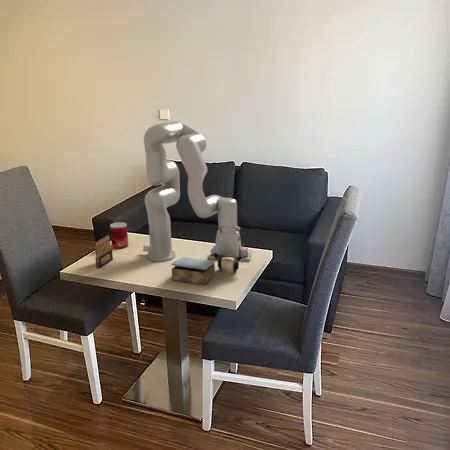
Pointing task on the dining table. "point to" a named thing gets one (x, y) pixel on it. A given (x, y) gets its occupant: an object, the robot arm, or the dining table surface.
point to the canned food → (119, 235)
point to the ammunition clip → (103, 252)
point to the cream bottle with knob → (227, 265)
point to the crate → (193, 274)
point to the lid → (193, 263)
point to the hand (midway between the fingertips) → (228, 269)
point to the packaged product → (245, 258)
